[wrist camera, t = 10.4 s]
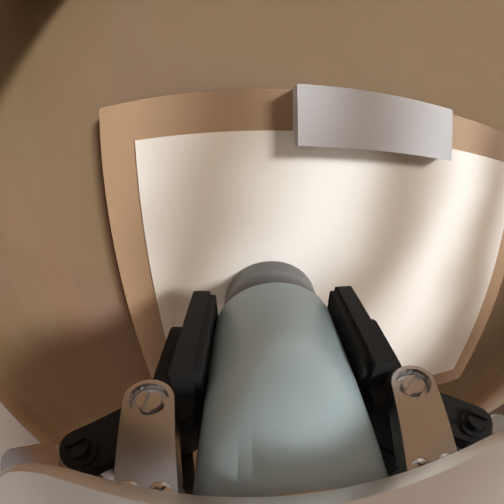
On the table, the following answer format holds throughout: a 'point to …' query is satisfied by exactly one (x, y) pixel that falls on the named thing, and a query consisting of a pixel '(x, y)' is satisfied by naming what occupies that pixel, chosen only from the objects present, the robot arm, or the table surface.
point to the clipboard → (310, 208)
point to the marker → (281, 395)
